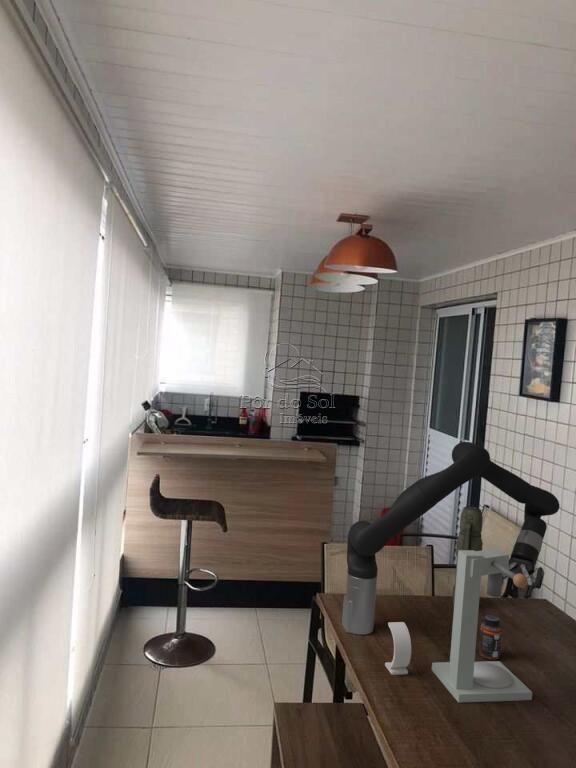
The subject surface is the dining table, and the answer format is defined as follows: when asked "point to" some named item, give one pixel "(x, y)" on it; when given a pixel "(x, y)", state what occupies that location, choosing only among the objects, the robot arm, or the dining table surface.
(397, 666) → the headphone stand
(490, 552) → the press
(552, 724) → the dining table surface
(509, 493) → the robot arm
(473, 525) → the thermos
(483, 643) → the supplement bottle
